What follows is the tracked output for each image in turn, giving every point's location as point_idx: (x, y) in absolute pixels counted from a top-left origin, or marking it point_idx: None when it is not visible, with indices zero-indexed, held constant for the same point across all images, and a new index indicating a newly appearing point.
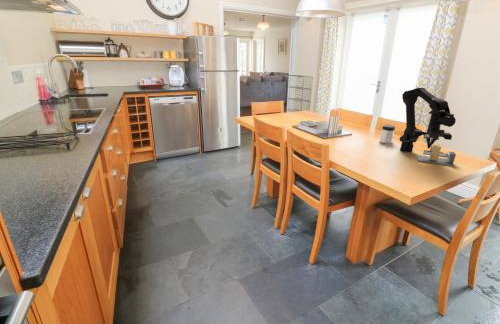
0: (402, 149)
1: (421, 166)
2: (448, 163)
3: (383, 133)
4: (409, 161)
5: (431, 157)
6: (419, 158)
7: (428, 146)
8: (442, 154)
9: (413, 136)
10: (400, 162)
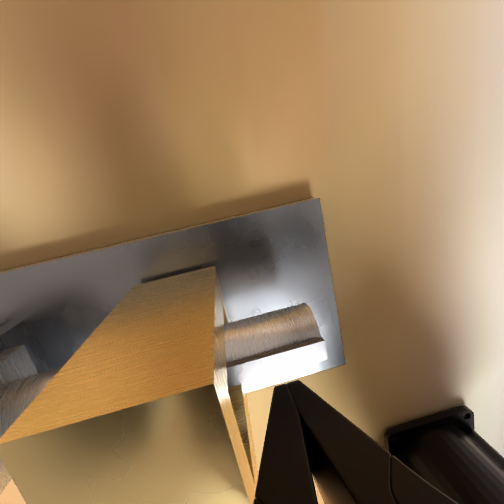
0: (464, 433)
1: (262, 29)
2: (17, 297)
3: None
4: (386, 138)
5: (200, 278)
6: (312, 260)
7: (308, 403)
8: None
9: None
10: (468, 30)
